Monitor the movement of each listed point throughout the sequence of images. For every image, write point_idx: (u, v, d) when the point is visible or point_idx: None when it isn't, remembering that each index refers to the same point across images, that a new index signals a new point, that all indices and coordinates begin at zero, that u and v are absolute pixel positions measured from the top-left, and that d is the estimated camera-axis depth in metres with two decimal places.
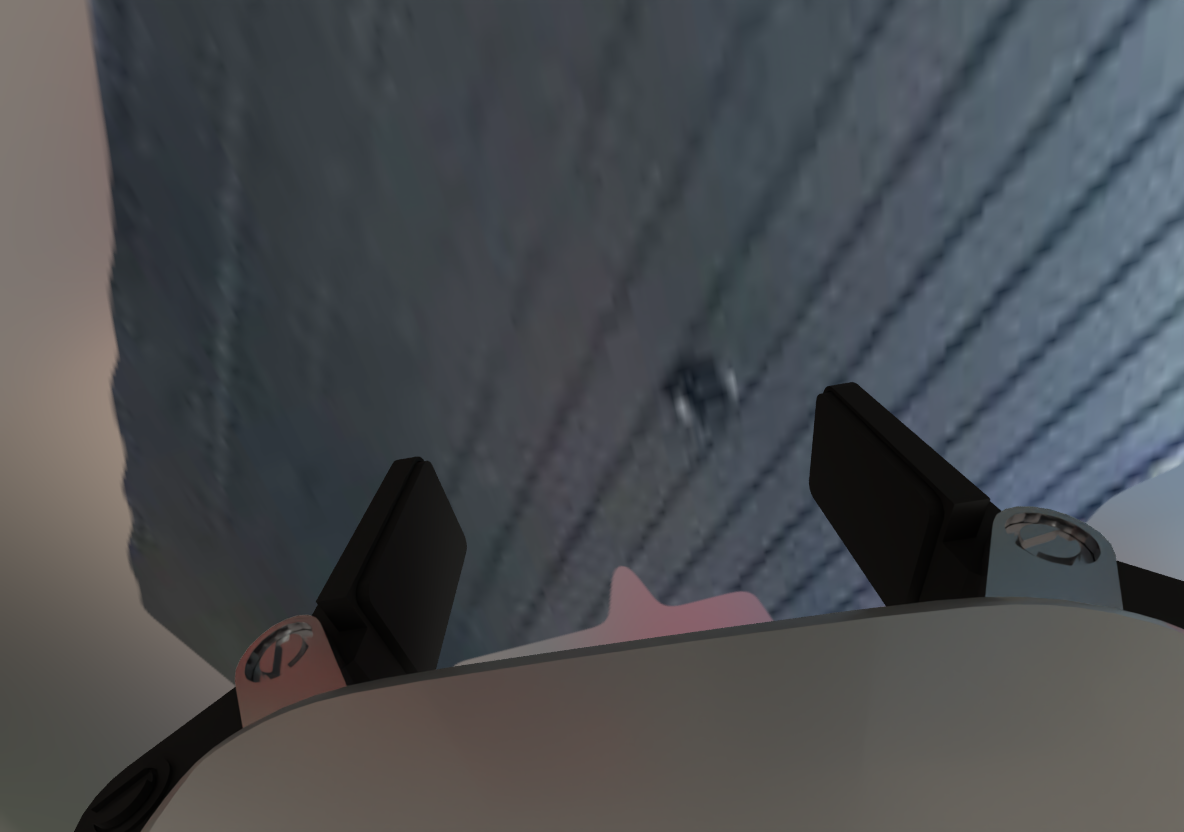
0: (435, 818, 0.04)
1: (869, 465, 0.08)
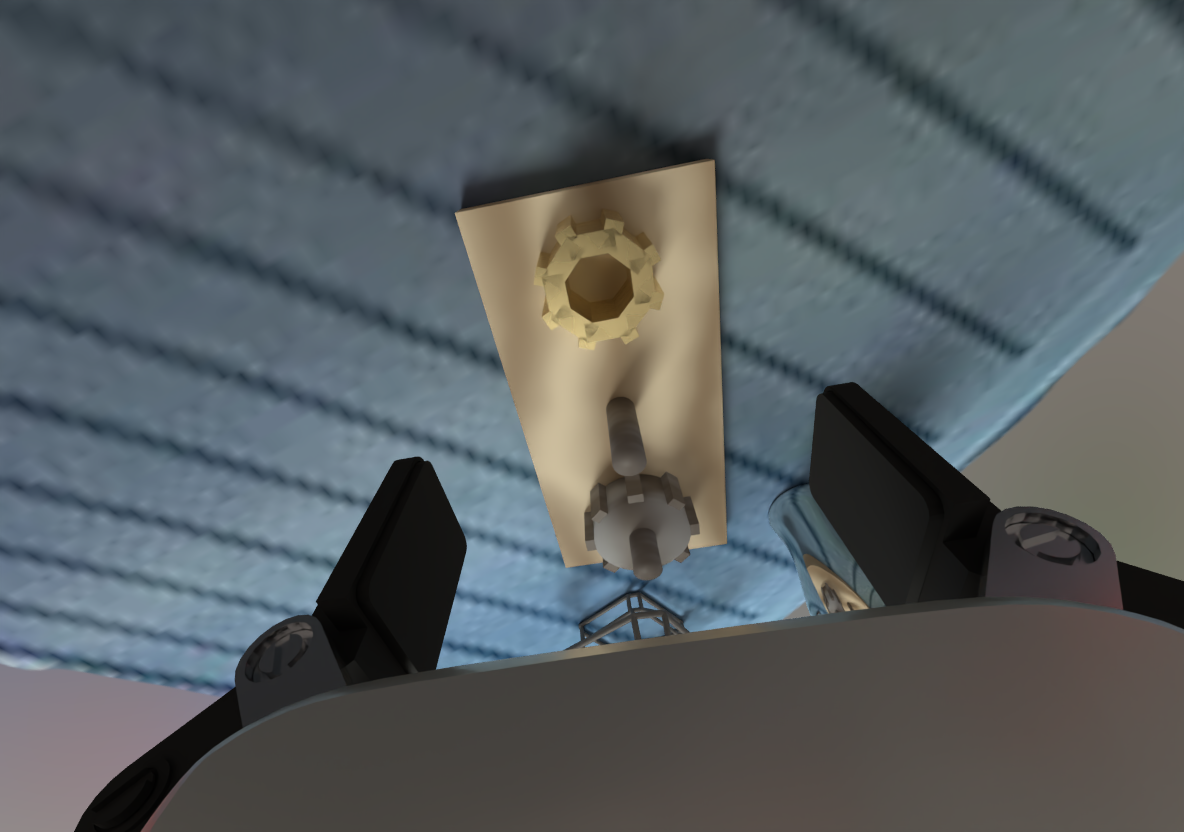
0: (435, 818, 0.04)
1: (869, 465, 0.08)
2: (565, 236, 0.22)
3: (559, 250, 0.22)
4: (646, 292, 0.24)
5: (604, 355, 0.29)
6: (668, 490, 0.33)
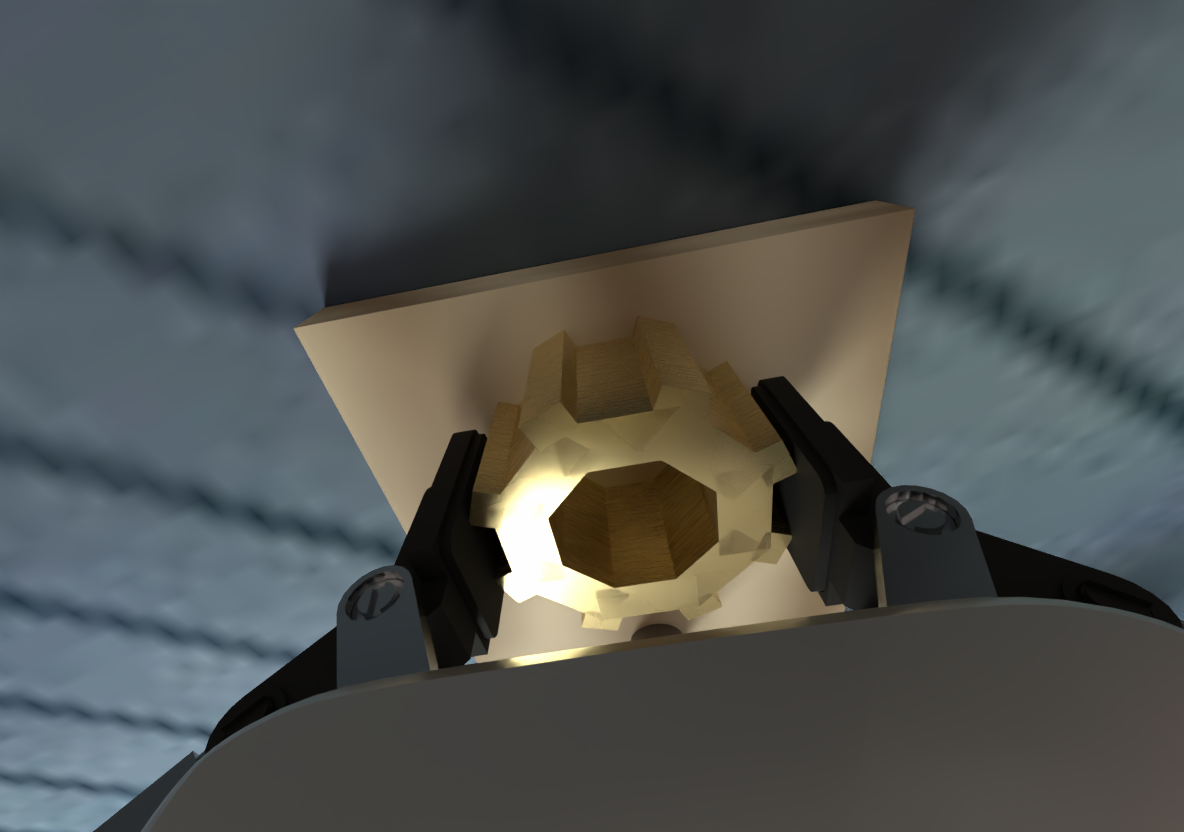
0: (435, 818, 0.04)
1: None
2: (547, 426, 0.08)
3: (532, 456, 0.08)
4: (750, 533, 0.10)
5: None
6: None
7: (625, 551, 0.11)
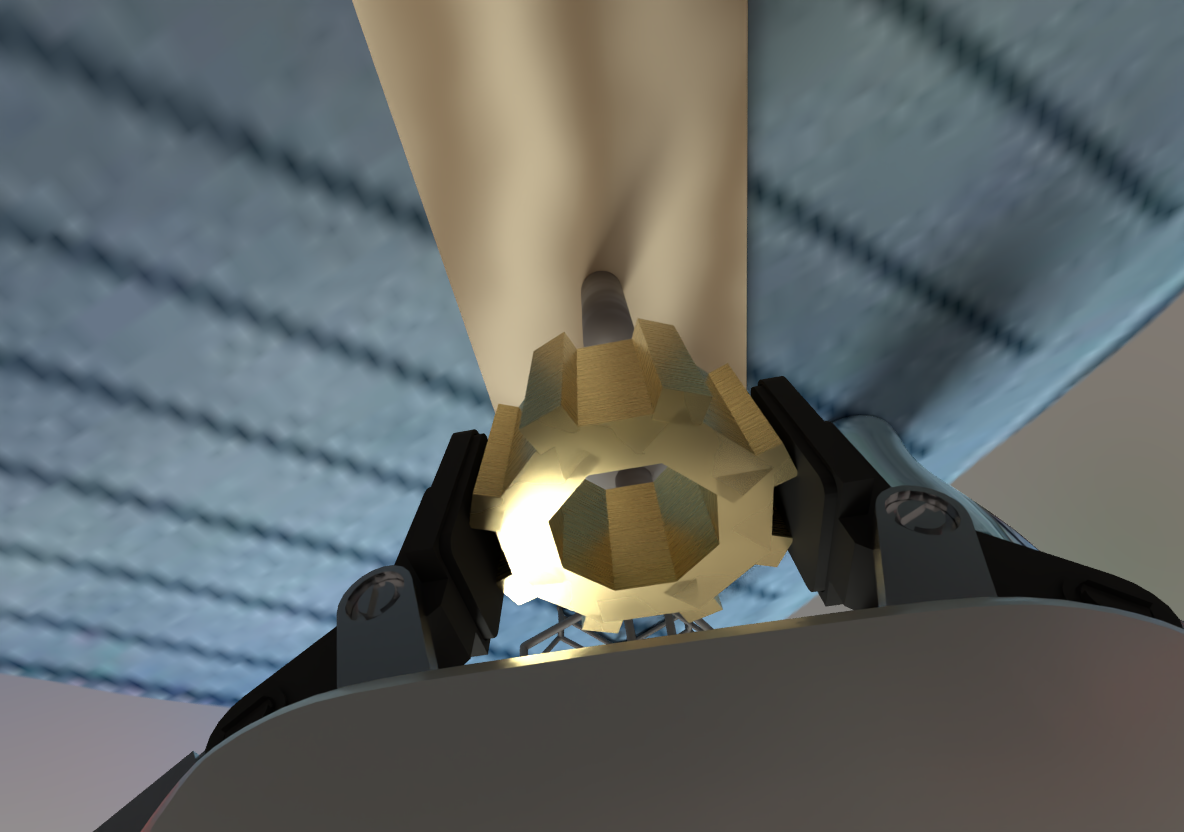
0: (435, 818, 0.04)
1: None
2: (548, 429, 0.08)
3: (532, 459, 0.08)
4: (751, 536, 0.10)
5: (575, 199, 0.20)
6: None
7: (625, 553, 0.11)
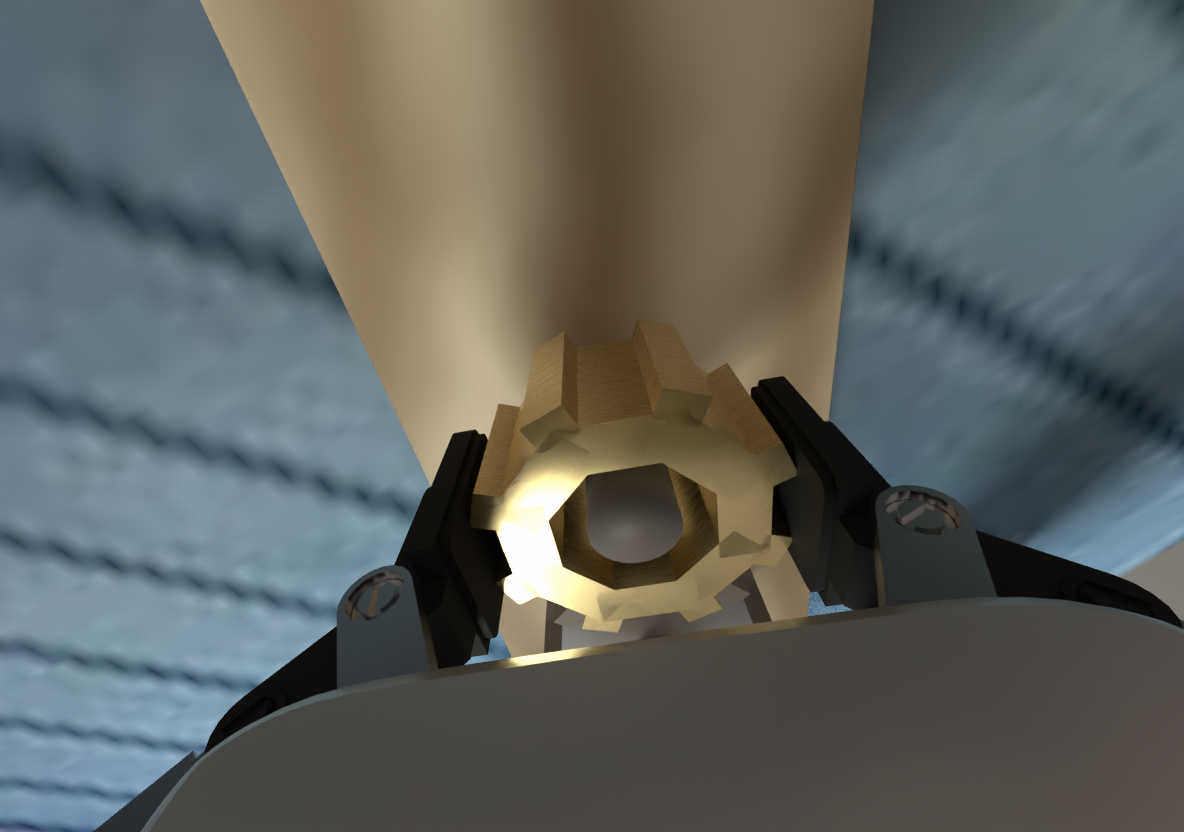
0: (435, 818, 0.04)
1: None
2: (548, 429, 0.08)
3: (532, 459, 0.08)
4: (750, 535, 0.10)
5: (573, 262, 0.12)
6: None
7: None
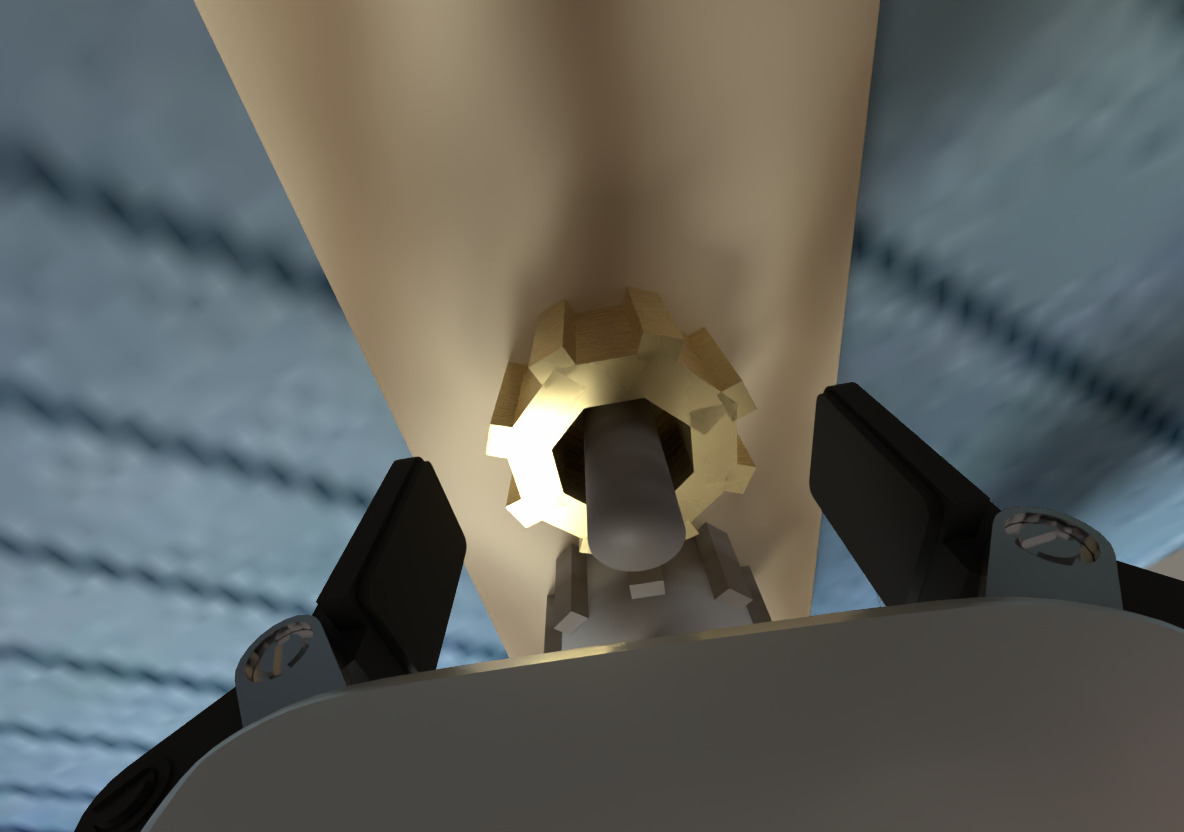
0: (435, 818, 0.04)
1: (869, 465, 0.08)
2: (552, 367, 0.10)
3: (539, 393, 0.10)
4: (720, 465, 0.12)
5: (573, 264, 0.12)
6: (714, 566, 0.16)
7: None
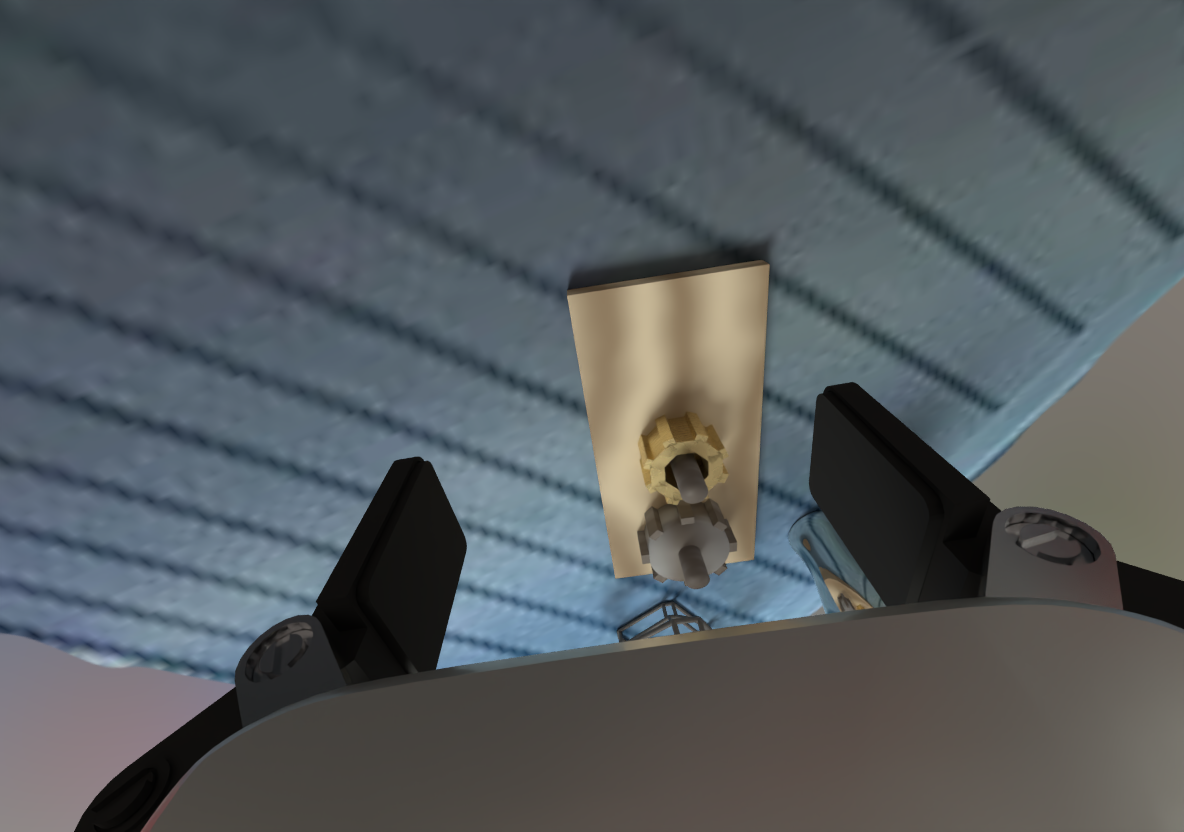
0: (435, 818, 0.04)
1: (869, 465, 0.08)
2: (669, 443, 0.34)
3: (664, 450, 0.34)
4: (717, 473, 0.36)
5: (669, 404, 0.36)
6: (712, 514, 0.40)
7: None
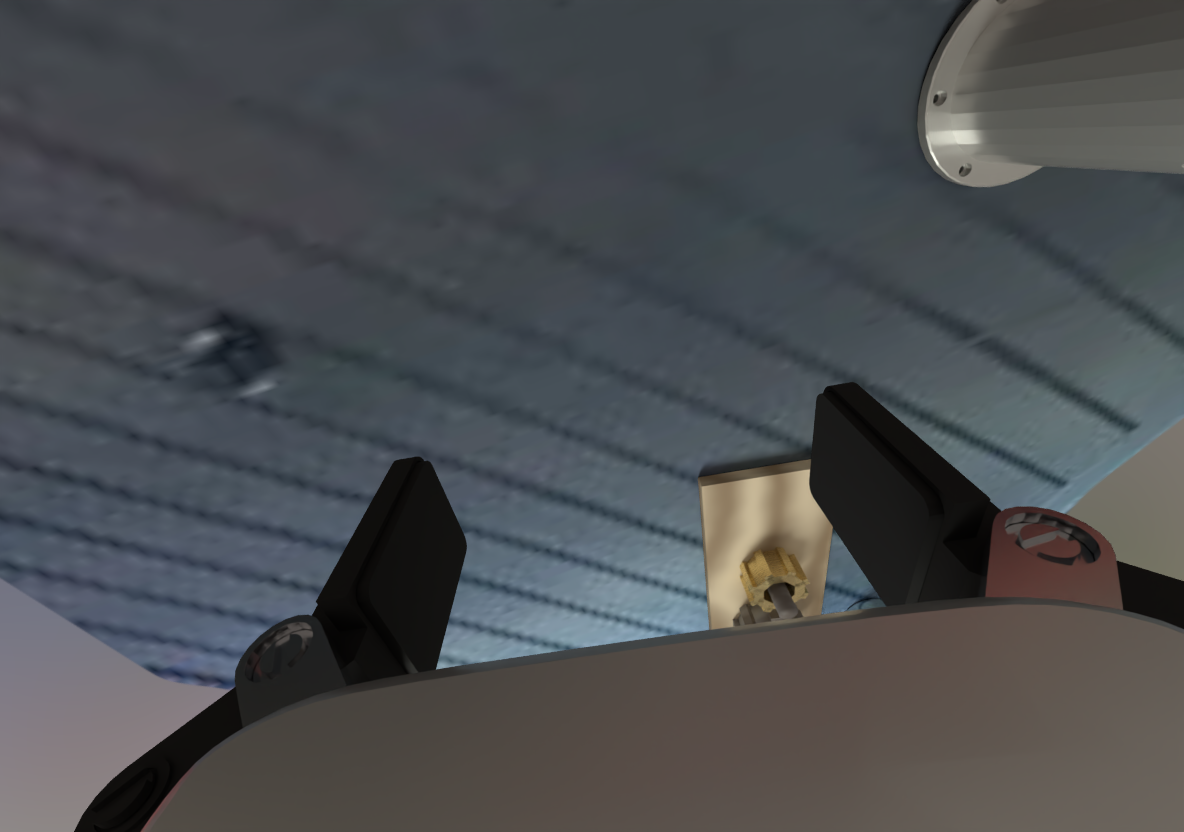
0: (435, 818, 0.04)
1: (869, 465, 0.08)
2: (768, 577, 0.49)
3: (764, 581, 0.49)
4: (800, 593, 0.50)
5: (764, 543, 0.51)
6: None
7: None
